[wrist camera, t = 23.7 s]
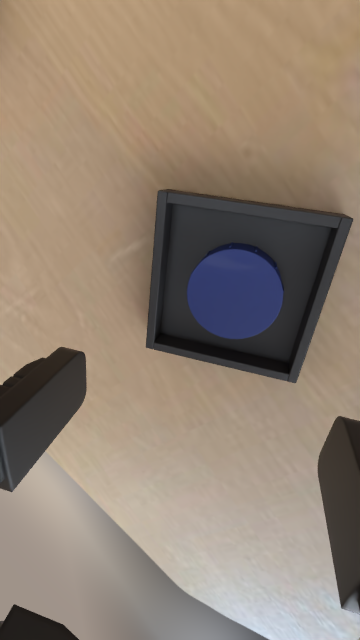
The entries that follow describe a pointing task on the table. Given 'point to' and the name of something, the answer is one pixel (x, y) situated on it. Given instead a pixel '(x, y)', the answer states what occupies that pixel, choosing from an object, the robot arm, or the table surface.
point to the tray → (257, 230)
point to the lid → (235, 291)
